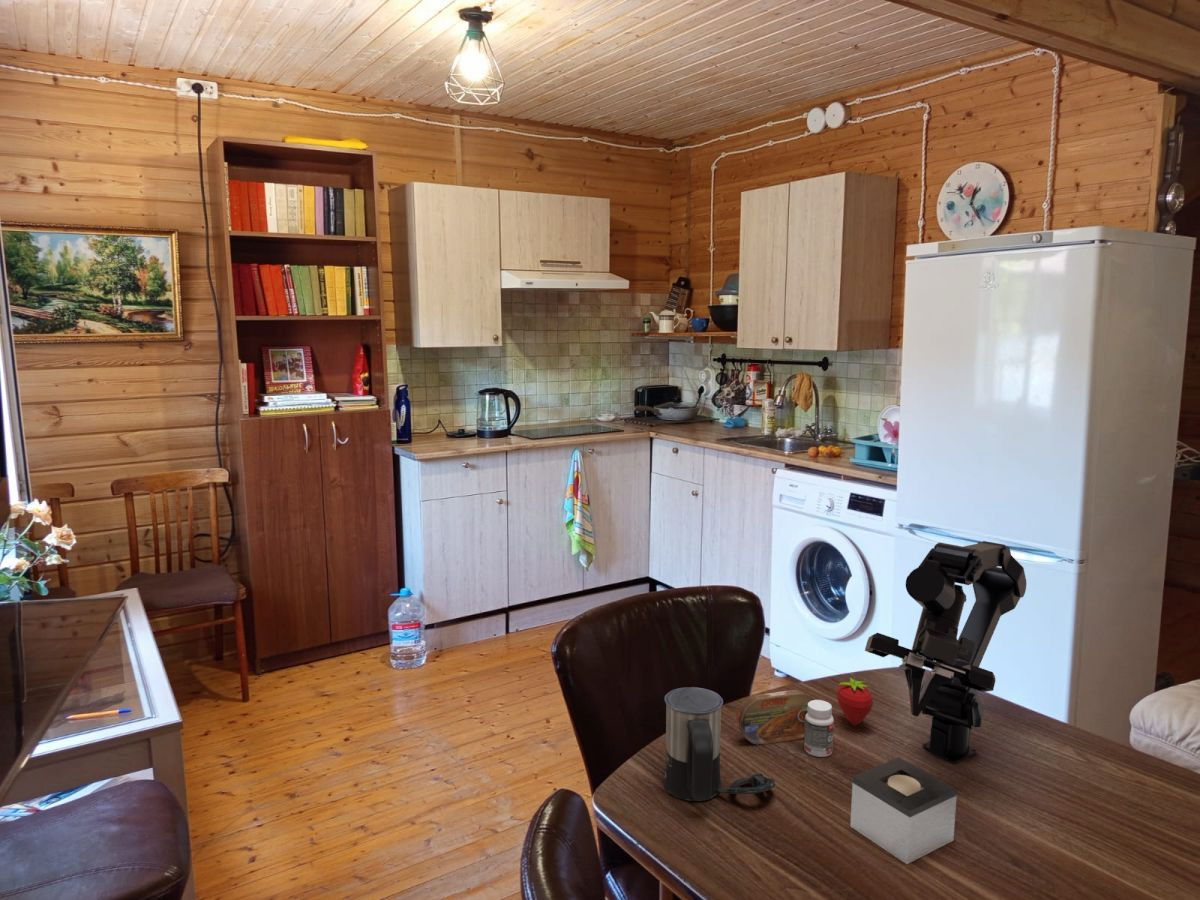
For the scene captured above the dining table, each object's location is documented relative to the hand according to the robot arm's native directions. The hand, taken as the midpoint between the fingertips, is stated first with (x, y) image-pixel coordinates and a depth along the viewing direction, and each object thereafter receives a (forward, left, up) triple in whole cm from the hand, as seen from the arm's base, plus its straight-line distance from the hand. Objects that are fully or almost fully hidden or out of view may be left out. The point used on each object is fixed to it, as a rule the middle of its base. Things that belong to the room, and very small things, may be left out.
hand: (914, 715), depth 129 cm
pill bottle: (+3, -17, -13) cm, 21 cm away
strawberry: (-9, -20, -13) cm, 25 cm away
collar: (+10, +6, -13) cm, 17 cm away
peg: (+10, +6, -13) cm, 17 cm away
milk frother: (+25, -16, -13) cm, 33 cm away
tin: (+6, -24, -13) cm, 28 cm away
